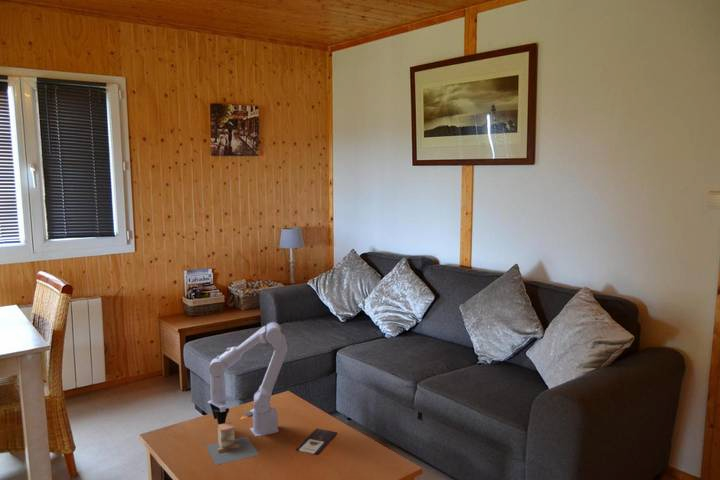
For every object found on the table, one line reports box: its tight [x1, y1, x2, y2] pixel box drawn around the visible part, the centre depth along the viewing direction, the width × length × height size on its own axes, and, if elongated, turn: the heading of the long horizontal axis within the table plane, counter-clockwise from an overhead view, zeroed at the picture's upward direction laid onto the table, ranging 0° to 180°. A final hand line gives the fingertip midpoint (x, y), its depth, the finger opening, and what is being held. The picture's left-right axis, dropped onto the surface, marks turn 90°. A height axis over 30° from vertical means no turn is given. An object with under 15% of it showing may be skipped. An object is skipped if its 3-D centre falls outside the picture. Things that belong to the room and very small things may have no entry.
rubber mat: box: [205, 436, 260, 466], centre depth 213 cm, size 16×16×1 cm
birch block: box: [217, 421, 236, 448], centre depth 216 cm, size 5×5×8 cm
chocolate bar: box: [295, 428, 338, 456], centre depth 220 cm, size 9×1×18 cm
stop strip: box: [218, 444, 240, 453], centre depth 213 cm, size 8×1×1 cm, turn 117°
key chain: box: [239, 408, 253, 420], centre depth 242 cm, size 13×4×2 cm, turn 152°
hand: (219, 422), depth 225 cm, fingers open, 7 cm apart
